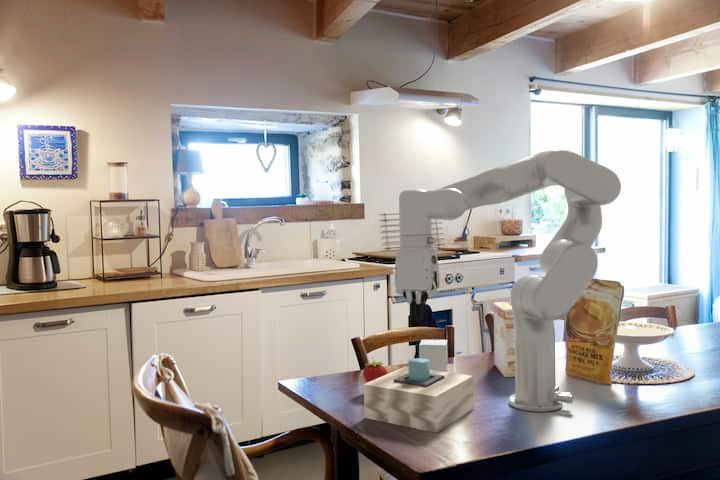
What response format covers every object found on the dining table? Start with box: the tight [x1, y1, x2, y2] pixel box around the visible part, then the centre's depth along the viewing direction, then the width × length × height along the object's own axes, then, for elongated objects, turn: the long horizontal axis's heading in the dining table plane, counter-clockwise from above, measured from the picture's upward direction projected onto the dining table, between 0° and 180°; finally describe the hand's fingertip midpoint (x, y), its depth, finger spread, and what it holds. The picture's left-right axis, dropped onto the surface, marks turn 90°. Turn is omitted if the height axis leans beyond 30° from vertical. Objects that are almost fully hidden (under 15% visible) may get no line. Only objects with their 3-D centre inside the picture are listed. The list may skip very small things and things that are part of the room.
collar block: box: [363, 365, 475, 433], centre depth 148 cm, size 19×19×9 cm
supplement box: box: [418, 339, 449, 372], centre depth 168 cm, size 7×7×13 cm
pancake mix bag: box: [564, 277, 625, 386], centre depth 173 cm, size 7×19×28 cm, turn 27°
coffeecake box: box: [493, 301, 515, 378], centre depth 184 cm, size 15×7×20 cm, turn 179°
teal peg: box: [407, 357, 430, 382], centre depth 148 cm, size 5×5×7 cm
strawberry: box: [363, 356, 388, 383], centre depth 165 cm, size 6×8×10 cm
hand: (416, 319), depth 147 cm, fingers closed
